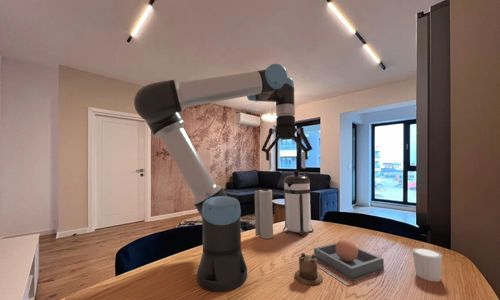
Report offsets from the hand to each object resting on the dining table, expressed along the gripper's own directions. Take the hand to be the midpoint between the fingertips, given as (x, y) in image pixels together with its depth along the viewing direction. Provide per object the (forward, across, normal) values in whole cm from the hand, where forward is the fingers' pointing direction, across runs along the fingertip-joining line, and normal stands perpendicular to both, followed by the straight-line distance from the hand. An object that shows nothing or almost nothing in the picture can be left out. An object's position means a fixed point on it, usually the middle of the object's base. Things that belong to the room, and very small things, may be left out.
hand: (287, 168), depth 86 cm
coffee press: (+32, -8, -20) cm, 39 cm away
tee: (+32, -2, +21) cm, 38 cm away
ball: (+30, -17, +10) cm, 36 cm away
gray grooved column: (+32, +9, -14) cm, 36 cm away
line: (+32, -8, +16) cm, 36 cm away
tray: (+32, -17, +13) cm, 38 cm away
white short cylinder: (+32, -37, +21) cm, 54 cm away
